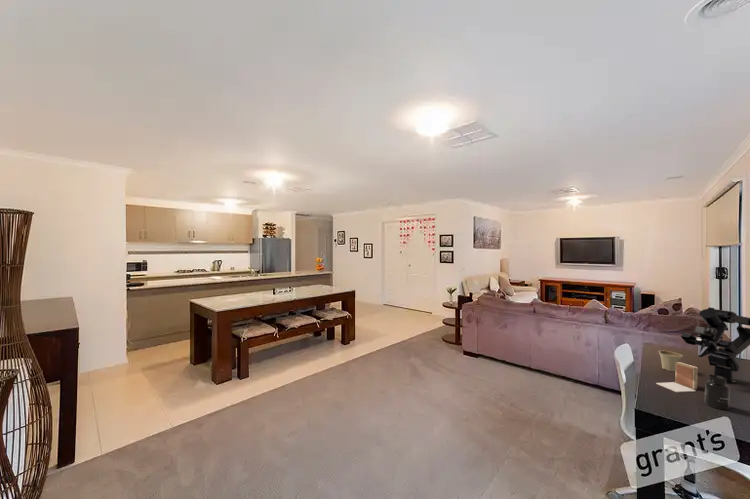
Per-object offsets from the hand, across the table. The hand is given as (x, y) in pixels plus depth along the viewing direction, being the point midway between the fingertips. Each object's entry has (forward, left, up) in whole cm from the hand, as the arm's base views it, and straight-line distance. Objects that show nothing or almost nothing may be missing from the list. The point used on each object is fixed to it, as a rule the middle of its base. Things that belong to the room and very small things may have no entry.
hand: (699, 356), depth 149 cm
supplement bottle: (+18, +19, -13) cm, 30 cm away
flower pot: (-6, -18, -13) cm, 23 cm away
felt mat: (+16, +2, -13) cm, 21 cm away
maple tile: (+9, +1, -13) cm, 16 cm away
